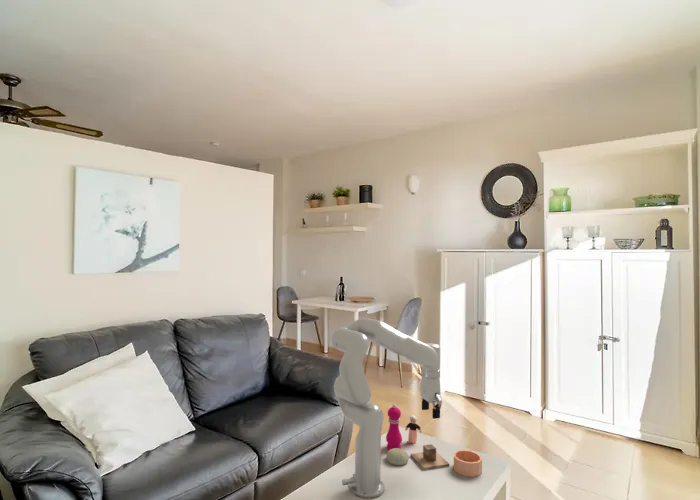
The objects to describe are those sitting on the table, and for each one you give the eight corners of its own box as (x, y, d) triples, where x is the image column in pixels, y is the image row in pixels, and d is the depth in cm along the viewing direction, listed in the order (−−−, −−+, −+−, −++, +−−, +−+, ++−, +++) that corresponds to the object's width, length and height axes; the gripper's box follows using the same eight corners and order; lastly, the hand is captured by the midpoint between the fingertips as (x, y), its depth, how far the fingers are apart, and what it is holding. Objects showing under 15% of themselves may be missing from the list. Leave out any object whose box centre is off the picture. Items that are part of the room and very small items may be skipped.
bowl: (463, 478, 156) (463, 464, 157) (448, 465, 167) (448, 451, 167) (487, 475, 160) (487, 461, 160) (471, 461, 170) (471, 448, 170)
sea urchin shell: (405, 465, 163) (393, 447, 166) (393, 475, 165) (380, 458, 168) (413, 455, 171) (401, 439, 174) (401, 465, 173) (389, 449, 176)
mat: (422, 471, 161) (422, 471, 161) (408, 456, 174) (408, 455, 174) (451, 467, 165) (451, 466, 165) (435, 452, 178) (435, 452, 178)
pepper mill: (389, 453, 176) (389, 407, 177) (383, 446, 183) (384, 402, 184) (404, 451, 178) (404, 406, 179) (398, 444, 185) (398, 400, 186)
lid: (423, 470, 162) (423, 455, 162) (410, 456, 173) (410, 442, 174) (449, 466, 165) (449, 451, 166) (435, 452, 177) (435, 439, 177)
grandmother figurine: (404, 444, 186) (405, 416, 186) (404, 440, 189) (405, 413, 190) (421, 445, 184) (421, 417, 185) (421, 441, 188) (421, 414, 189)
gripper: (414, 368, 178) (413, 407, 177) (432, 379, 161) (432, 422, 160) (429, 367, 180) (429, 405, 179) (449, 378, 163) (448, 420, 163)
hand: (430, 413), depth 170 cm, fingers open, 9 cm apart
